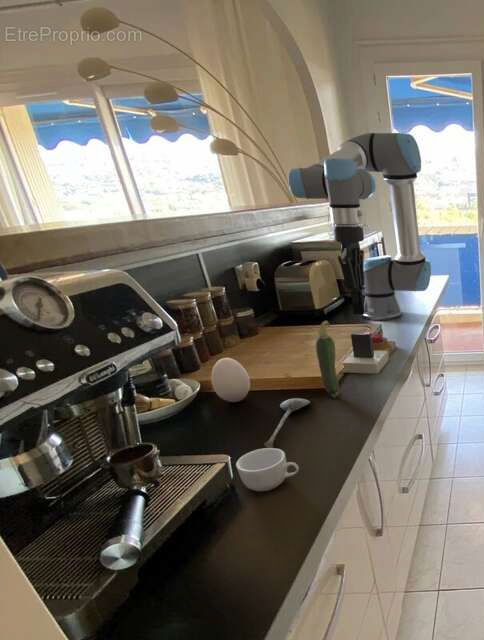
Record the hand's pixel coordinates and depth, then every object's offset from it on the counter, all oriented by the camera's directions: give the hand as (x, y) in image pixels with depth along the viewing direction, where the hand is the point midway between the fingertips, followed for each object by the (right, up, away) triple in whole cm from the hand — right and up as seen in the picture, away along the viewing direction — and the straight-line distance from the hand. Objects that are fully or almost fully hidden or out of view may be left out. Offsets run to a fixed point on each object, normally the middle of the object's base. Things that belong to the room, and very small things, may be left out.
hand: (359, 313), depth 127 cm
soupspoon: (-9, -30, -25) cm, 40 cm away
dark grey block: (0, -12, +5) cm, 13 cm away
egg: (-26, -25, -15) cm, 39 cm away
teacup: (-1, -40, -46) cm, 61 cm away
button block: (+1, -9, +17) cm, 19 cm away
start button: (+1, -6, +16) cm, 17 cm away
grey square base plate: (0, -14, +6) cm, 16 cm away
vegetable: (-3, -24, -12) cm, 27 cm away
